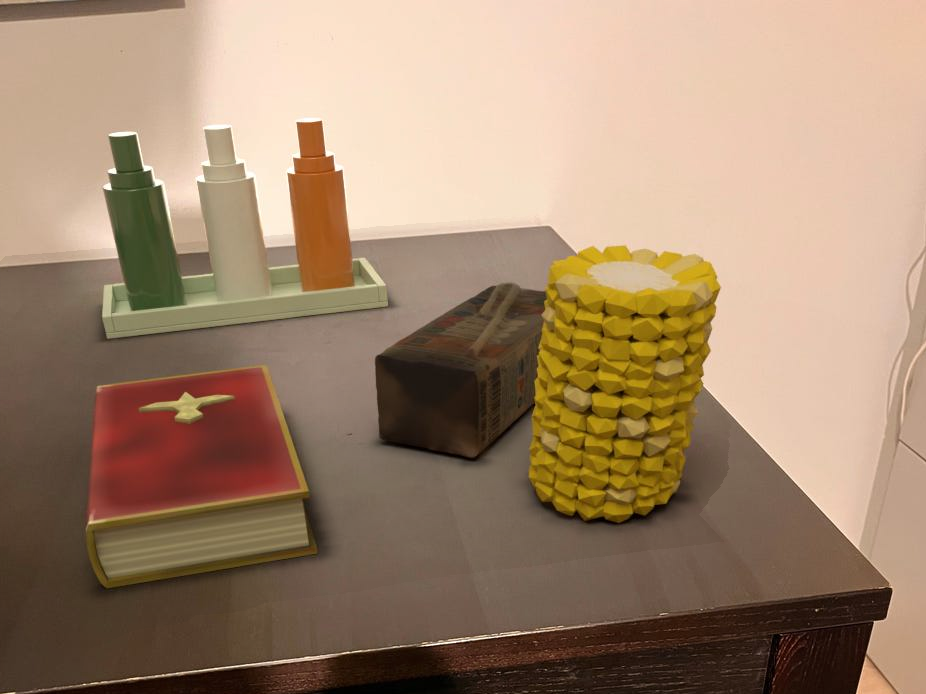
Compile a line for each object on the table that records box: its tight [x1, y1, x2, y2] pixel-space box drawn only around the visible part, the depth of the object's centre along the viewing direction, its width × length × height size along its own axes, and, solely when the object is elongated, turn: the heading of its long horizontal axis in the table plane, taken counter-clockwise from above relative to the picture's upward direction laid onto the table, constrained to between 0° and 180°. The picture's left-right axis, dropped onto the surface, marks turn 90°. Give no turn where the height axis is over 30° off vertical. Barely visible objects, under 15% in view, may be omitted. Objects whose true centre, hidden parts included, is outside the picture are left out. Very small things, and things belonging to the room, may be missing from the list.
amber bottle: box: [285, 117, 355, 292], centre depth 94 cm, size 5×5×15 cm
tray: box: [101, 257, 389, 340], centre depth 96 cm, size 26×11×2 cm, turn 106°
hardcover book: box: [85, 364, 319, 589], centre depth 63 cm, size 12×21×4 cm, turn 16°
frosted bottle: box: [195, 124, 272, 302], centre depth 92 cm, size 5×5×15 cm
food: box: [528, 244, 722, 524], centre depth 58 cm, size 15×12×10 cm
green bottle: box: [102, 131, 187, 311], centre depth 91 cm, size 5×5×15 cm
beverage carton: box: [374, 281, 547, 459], centre depth 73 cm, size 8×19×7 cm, turn 155°
